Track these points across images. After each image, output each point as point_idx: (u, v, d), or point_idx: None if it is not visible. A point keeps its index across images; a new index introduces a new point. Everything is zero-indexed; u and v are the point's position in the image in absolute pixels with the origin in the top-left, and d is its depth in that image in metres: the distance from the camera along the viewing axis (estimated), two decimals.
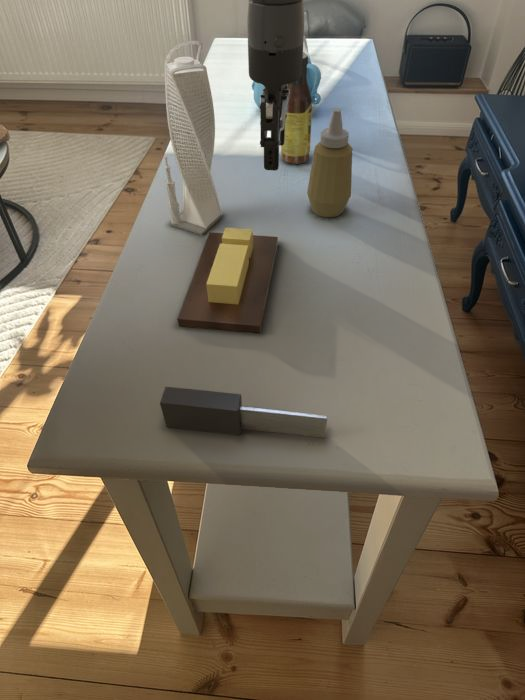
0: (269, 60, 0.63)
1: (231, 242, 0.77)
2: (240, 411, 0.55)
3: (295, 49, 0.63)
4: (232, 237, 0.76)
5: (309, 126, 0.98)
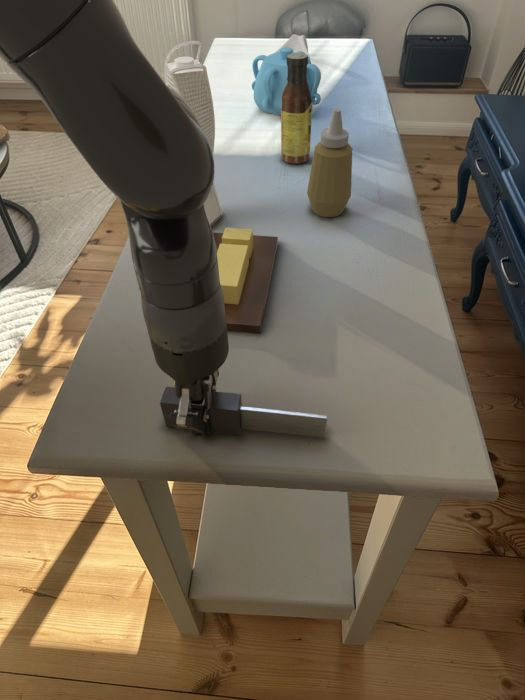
0: (174, 359, 0.44)
1: (231, 242, 0.77)
2: (240, 411, 0.55)
3: (211, 344, 0.44)
4: (232, 237, 0.76)
5: (309, 126, 0.98)
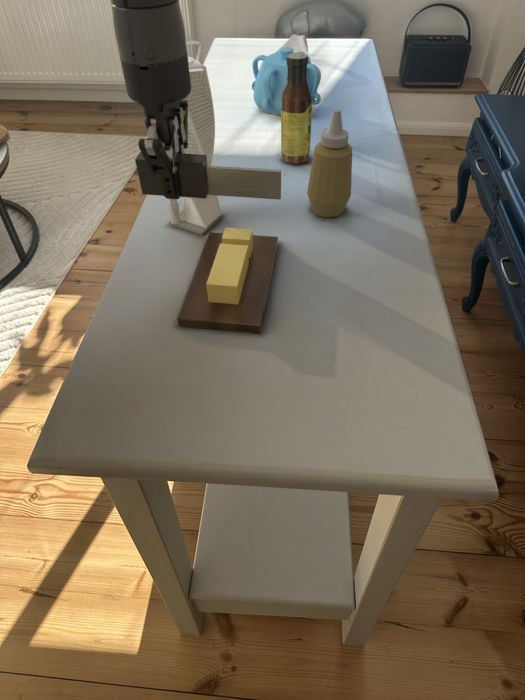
0: (141, 75, 0.52)
1: (231, 242, 0.77)
2: (205, 169, 0.63)
3: (173, 62, 0.52)
4: (232, 237, 0.76)
5: (309, 126, 0.98)
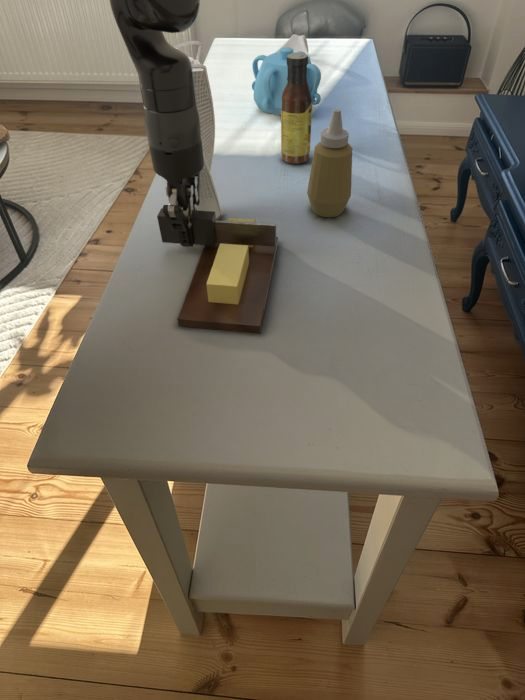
0: (166, 158, 0.67)
1: None
2: (214, 223, 0.77)
3: (191, 148, 0.67)
4: None
5: (309, 126, 0.98)
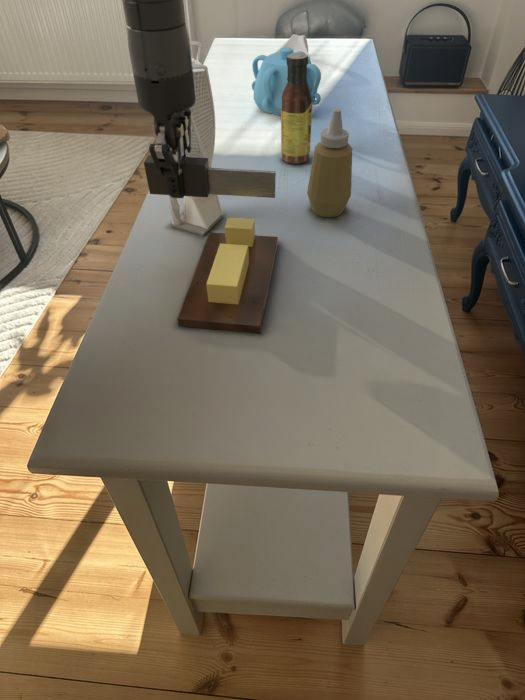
0: (153, 88, 0.59)
1: (234, 231, 0.79)
2: (207, 171, 0.70)
3: (180, 76, 0.59)
4: (235, 227, 0.78)
5: (309, 126, 0.98)
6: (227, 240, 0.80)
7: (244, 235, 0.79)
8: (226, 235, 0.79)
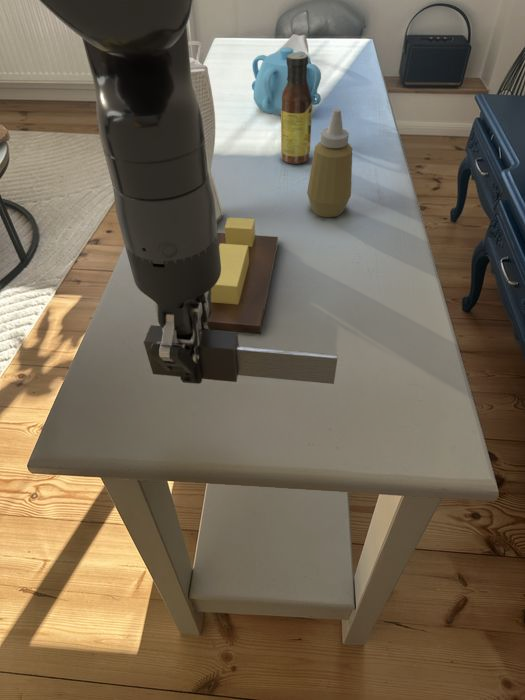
0: (155, 272, 0.37)
1: (234, 231, 0.79)
2: (236, 352, 0.48)
3: (199, 254, 0.37)
4: (235, 227, 0.78)
5: (309, 126, 0.98)
6: (227, 240, 0.80)
7: (244, 235, 0.79)
8: (226, 235, 0.79)
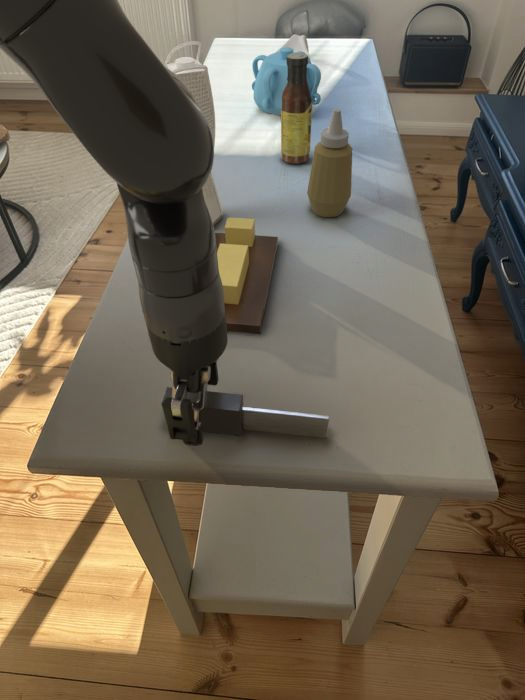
0: (173, 349, 0.44)
1: (234, 231, 0.79)
2: (242, 411, 0.55)
3: (210, 333, 0.44)
4: (235, 227, 0.78)
5: (309, 126, 0.98)
6: (227, 240, 0.80)
7: (244, 235, 0.79)
8: (226, 235, 0.79)
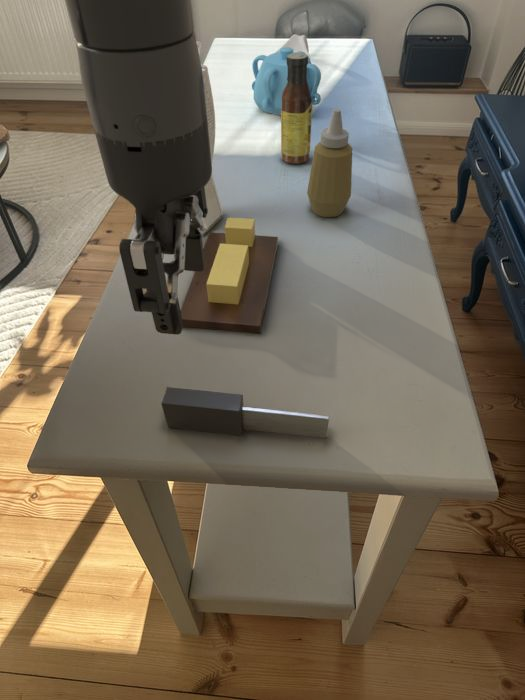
0: (131, 160, 0.30)
1: (234, 231, 0.79)
2: (242, 411, 0.55)
3: (185, 137, 0.30)
4: (235, 227, 0.78)
5: (309, 126, 0.98)
6: (227, 240, 0.80)
7: (244, 235, 0.79)
8: (226, 235, 0.79)
